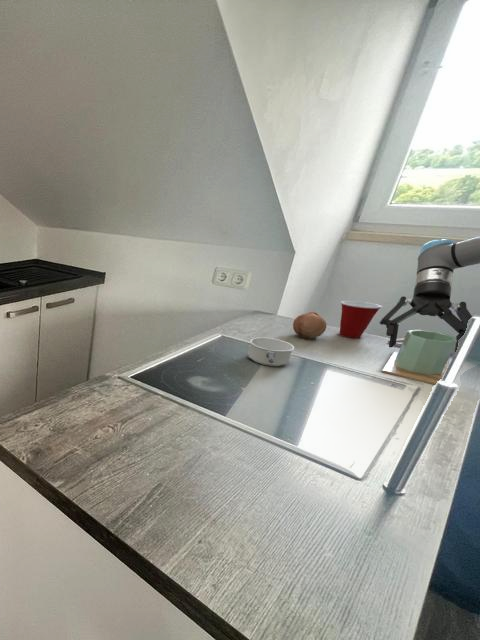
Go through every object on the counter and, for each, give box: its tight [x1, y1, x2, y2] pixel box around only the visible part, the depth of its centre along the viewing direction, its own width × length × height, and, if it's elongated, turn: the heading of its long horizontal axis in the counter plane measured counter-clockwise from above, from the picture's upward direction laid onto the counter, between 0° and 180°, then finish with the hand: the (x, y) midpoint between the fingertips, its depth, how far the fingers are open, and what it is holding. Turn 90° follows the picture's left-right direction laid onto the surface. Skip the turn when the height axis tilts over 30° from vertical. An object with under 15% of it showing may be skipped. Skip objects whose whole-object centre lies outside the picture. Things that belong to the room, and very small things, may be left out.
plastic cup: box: [339, 300, 383, 339], centre depth 136 cm, size 11×11×12 cm
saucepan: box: [247, 337, 295, 367], centre depth 117 cm, size 12×20×6 cm, turn 147°
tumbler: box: [395, 329, 457, 375], centre depth 111 cm, size 10×9×9 cm
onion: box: [292, 311, 327, 340], centre depth 137 cm, size 10×9×10 cm
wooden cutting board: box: [381, 351, 450, 386], centre depth 113 cm, size 20×12×1 cm, turn 130°
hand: (424, 349), depth 111 cm, fingers open, 13 cm apart
